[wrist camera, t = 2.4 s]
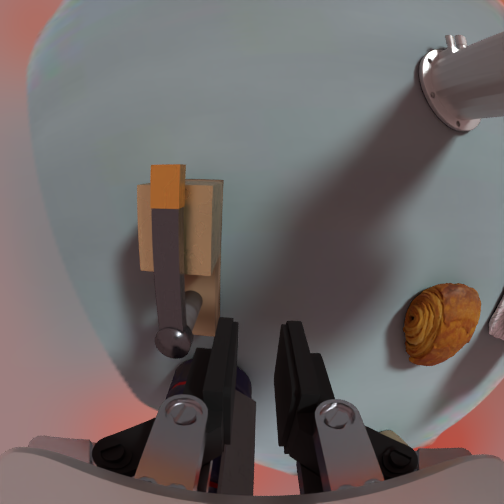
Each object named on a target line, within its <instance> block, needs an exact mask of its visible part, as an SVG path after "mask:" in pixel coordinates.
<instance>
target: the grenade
mask: <svg viewBox="0 0 504 504" xmlns="http://www.w3.org/2000/svg"><path fill="white" fill-rule="evenodd" d="M192 361H193V359H191V360H188V361H186V362H184V363H183V364H181V365H180V366H179V367H178V369H177V370H176V372H175V375H174V377H173V380H172V383H171V386H170V389H169V392H168V394H167V397H166V399H168V398H169V397H172V396H174V395H180V394H183V391H184V387H185V384H186V380H187V377H188V374H189V370H190V367H191V364H192ZM255 418H256V402H255V401H254V400H253V399H251V382H250V380H249V378H248V376H247V375H246V374H245V373H244V371H242V370H241V369H240V368H239V367H237V374H236V388H235V399H234V411H233V422H232V434H231V445H225V447H224V452H222V455H220V456H218V457H217V458H215V459H213V463H212V470H211V476H210V482H209V489H208V493H215V494H226V495H242V496H253V484H254V482H253V480H254V453H255Z"/></svg>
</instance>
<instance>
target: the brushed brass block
mask: <svg viewBox="0 0 504 504" xmlns="http://www.w3.org/2000/svg"><path fill="white" fill-rule="evenodd" d="M222 185H223V182H205V181H185V206H184V274H190V275H203V276H211V274H212V272H213V269H214V267H215V265H216V262H217V260H218V257H219V255H220V239H221V209H222ZM150 187H151V183H147V184H141V185H137V210H138V239H139V255H140V268H141V271H152V272H154V266H153V248H152V218H151V208H150Z"/></svg>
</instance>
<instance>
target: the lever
mask: <svg viewBox="0 0 504 504" xmlns="http://www.w3.org/2000/svg"><path fill="white" fill-rule="evenodd" d="M185 171H186V165H181V164H176V165H151V187H150V208H151V218H152V248H153V266H154V280H155V292H156V302H157V312H158V321H159V331H158V333H157V335H156V337H155V344H156V347H157V348H158V350H159V351H160V352H161V353H162V354H164V355H165V356H167V357H170V358H175V359H178V358H183V357H185V356H186V355H187V354H188V352H189V349H190V347H191V344H192V341H193V333H192V330H191V329H190V327H189V326H188V325H187V319H186V302H185V278H184V206H185Z"/></svg>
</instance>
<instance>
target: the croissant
mask: <svg viewBox="0 0 504 504" xmlns="http://www.w3.org/2000/svg"><path fill="white" fill-rule="evenodd" d="M480 311H481V301H480V298H479V295H478V293H477V291H476V290H475V289H473V288H469V287H468V286H466V285H464V284H459V283H457V284H452V283H449V284H448V283H446V284H438V285H435V286H433V287H430V288H428V289H426V290H424V291H423V292H422V293H421V294H420V295H419V296H417V297H416V298H415V299H414V300H413V301H412V302H411V304H410V306H409V308H408V310H407V313H406V316H405V321H404V324H405V326H404V328H403V331H404V332H405V337H406V342H405V345H406V348H405V349H406V352H407V353H408V354H409V355H410V357H409V361H410V362H412V363H414V364H417V365H424V366H433V365H436V364H439V363H441V362H444V361H446V360H447V359H448V358H450V357H452V356H454V355H455V354H456V353H457V352H458V351H459V350H460V349H461V348H462V347H463V346H464V345H465V344H466V343H469V341H470V339H471V337H472V335H473V333H474V331H475V328H476V325H477V324H478V320H479V317H480Z"/></svg>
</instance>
